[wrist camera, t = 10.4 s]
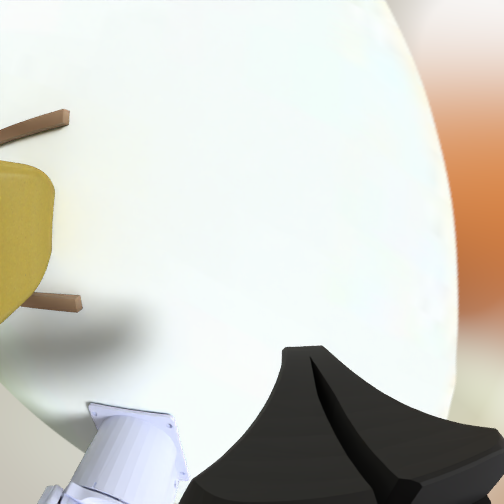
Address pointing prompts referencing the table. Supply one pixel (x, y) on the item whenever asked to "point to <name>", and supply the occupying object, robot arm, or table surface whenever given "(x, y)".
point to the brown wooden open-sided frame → (18, 131)
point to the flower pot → (23, 232)
